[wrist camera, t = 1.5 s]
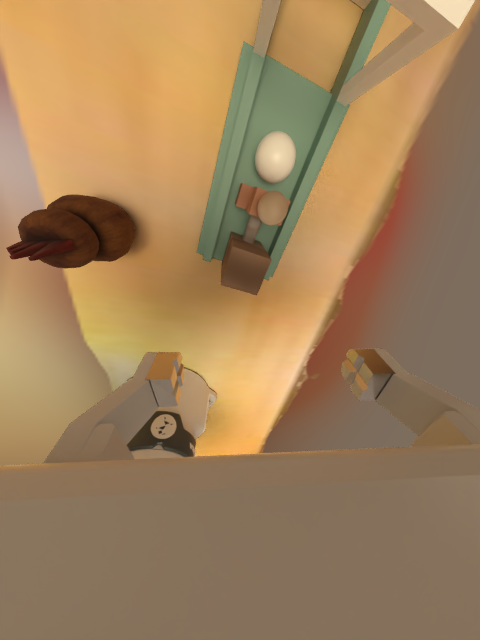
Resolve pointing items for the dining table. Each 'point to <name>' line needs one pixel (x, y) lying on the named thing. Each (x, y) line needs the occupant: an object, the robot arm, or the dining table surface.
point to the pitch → (304, 113)
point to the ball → (275, 157)
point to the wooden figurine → (74, 232)
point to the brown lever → (252, 239)
